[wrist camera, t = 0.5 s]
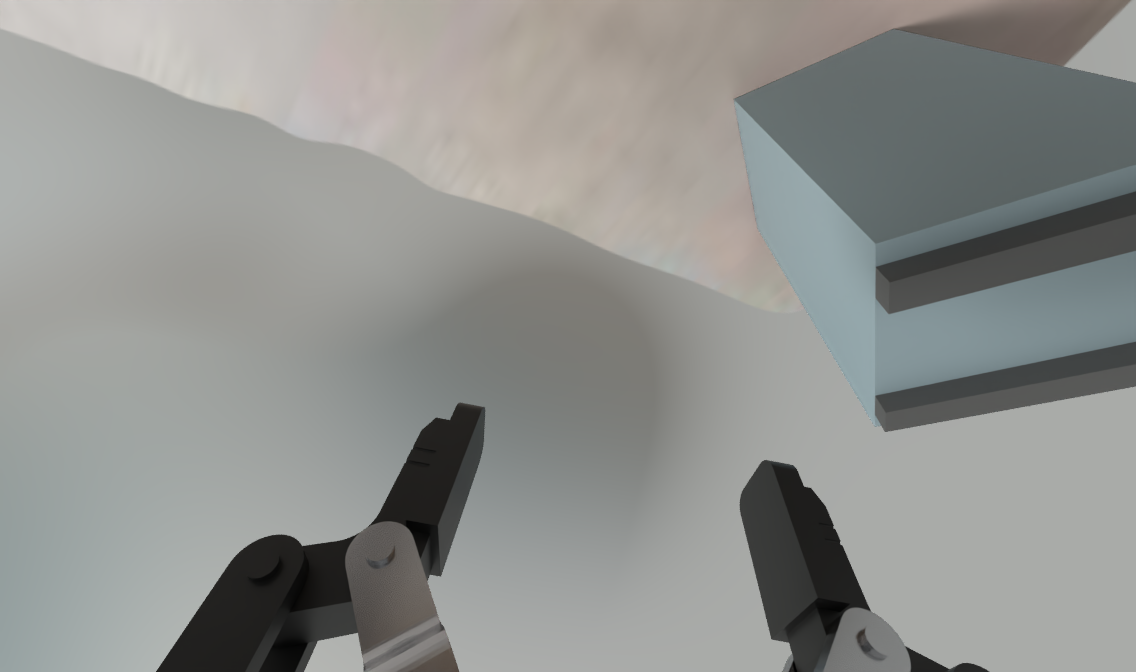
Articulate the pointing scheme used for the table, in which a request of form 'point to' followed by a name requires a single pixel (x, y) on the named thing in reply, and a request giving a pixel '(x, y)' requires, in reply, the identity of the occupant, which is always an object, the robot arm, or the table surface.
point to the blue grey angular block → (952, 223)
